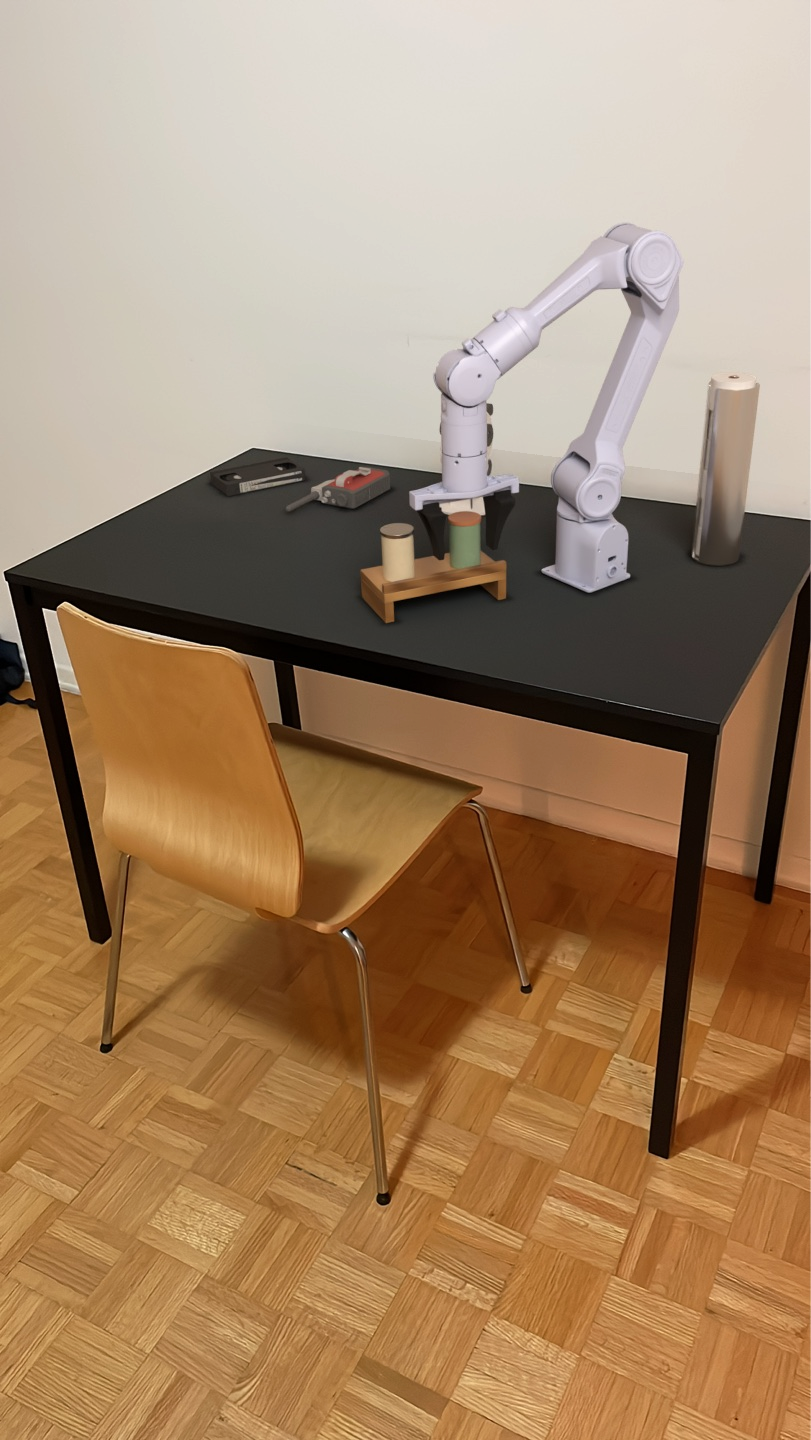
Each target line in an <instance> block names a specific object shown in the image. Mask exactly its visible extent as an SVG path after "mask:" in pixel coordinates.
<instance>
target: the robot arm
mask: <svg viewBox="0 0 811 1440" xmlns="http://www.w3.org/2000/svg"><path fill="white" fill-rule="evenodd" d="M684 263H685V261H684V259H683V257H682V254H681V252H680V250H679V248H678V246H677V244H676V241H675V240H674V238H673V237H672V236H671V235H669V234H668V233H667V232H664V231H661V230H651V229H648V228H644V227H640V226H637V225H636V224H634V223H631V222H620V223H617V224H614V225H612V226H611V227H610V228H609V229H607V231H606V232H605V233H604V234H603V236H602V235H600V236H599V237H597V238H596V239H593V241H591V242H590V243H589V245H588V246H587V247H586V249H585V250H584V251H583V253H582V254H580V256H578V258H576V259H575V260H574V261H573V262H572V263H571V264H570V265H568V267H566V269H564V270H563V272H561V273H560V274H559V275H558V276H556V278H555V279H554V280H553V281H552V282H550V284H549V285H547V286H546V287H545V288H544V289H543V290H542V291H541V292H540V293H539V294H537V296H536V297H534V298H533V299H532V300H531V301H530V302H529V303H528V304H527V305H526V306H525V307H514V306H510V307H508V308H506V309H505V310H502V309H501V308H500V309H498V310H497V311H495V312H494V313H493V314H492V315H491V316H492V319H493V321H491V322H490V323H489V324H488V325H486V326H485V327H484V328H483V329H481V330H480V331H479V332H477V334H476V335H474V336H473V337H472V338H471V339H470V338H468V337H467V338H466V339H464V340H462V342H461V346H462V348H457V349H452V350H450V351H448V352H446V353H445V354H443V355H442V356H441V358H440V359H439V361H438V362H437V363H438V366H436V368H435V372H433V373H432V379H433V382H434V384H435V386H436V388H437V389H438V391H439V392H440V393H441V394H440V423H441V434H440V448H441V450H442V463H441V481H440V482H437V483H434V484H431V485H428V486H426V487H422V488H419V489H415V490H414V489H413V490H410V491H409V492H408V495H409V497H408V498H409V506H410V507H411V509H413V510H414V511H416V513H417V514H418V516H419V518H420V520H421V522H422V524H423V526H424V528H425V531H426V533H427V537H428V539H429V542H430V547H431V550H432V556H434V557H436V558H437V559H438V560H444V556H445V554H446V552H445V551H446V550H445V548H446V547H445V529H446V522H447V519H448V514H445V513H443V512H442V508H441V507H439V504H444V503H450V502H456V501H461V500H467V499H473V498H478V497H483V501H484V508H485V515H484V517H485V544H486V546H487V547H488V548H489V549H490V550H492V551H496V550H498V548H499V544H500V540H501V537H502V536H501V535H502V532H503V530H504V528H505V527H504V526H505V524H506V521H507V520H508V517H509V516H510V514H511V513H512V511H513V509H514V508H515V506H516V497H514V495H512V494H518V493H520V478H519V477H518V476H517V475H515V474H513V473H510V474H500V475H489V476H487V413H486V403H487V400H489V399H490V397H491V395H492V394H493V392H494V388H495V384H496V382H497V381H498V380H500V378H502V377H503V376H504V375H505V374H507V373H508V372H509V371H510V370H512V369H513V368H514V367H515V366H516V365H517V364H519V363H520V362H521V361H522V360H524V358H526V357H527V356H528V355H530V354H531V353H532V352H533V351H534V350H536V349H537V348H538V347H539V346H540V340H541V336H542V332H543V330H545V329H546V328H547V327H548V326H550V325H551V324H552V323H554V322H555V321H557V320H558V319H559V318H561V317H562V316H563V315H564V314H566V313H567V312H569V311H570V310H571V309H573V308H574V307H575V306H577V305H578V304H580V303H581V302H583V300H585V299H586V298H587V297H589V296H590V295H591V294H593V293H594V292H596V291H598V290H619V289H620V291H621V293H622V295H623V297H624V300H625V302H626V304H627V306H628V308H629V311H630V315H629V318H628V319H627V322H626V326H625V328H624V330H623V333H622V335H621V338H620V340H619V343H618V345H617V348H616V350H615V353H614V356H613V358H612V360H611V362H610V365H609V368H608V370H607V373H606V376H605V377H604V380H603V382H602V385H601V388H600V390H599V393H598V395H597V397H596V400H595V403H594V406H593V407H592V410H591V413H590V415H589V418H588V420H587V423H586V425H585V428H584V431H583V432H582V434H580V435H578V436H577V437H576V438H575V439H573V440H572V441H571V442H570V443H569V445H568V448H567V449H566V452H565V454H564V455H563V456H562V457H561V458H560V459H559V460H558V461H557V462H556V463H555V465H554V467H553V469H552V471H551V474H550V485H551V488H552V490H553V492H554V493H555V494H556V495H557V497H558V504H557V506H556V527H555V529H556V531H555V561H554V562H555V563H554V564H552V565H549V566H546V567H543V568H542V569H541V573H542V574H544V575H546V576H548V577H550V578H553V579H556V580H557V581H560V582H562V583H565V584H567V585H569V586H572V587H574V588H576V589H578V590H581V591H583V592H585V593H588V594H590V593H594V592H596V591H599V590H601V589H604V588H607V587H609V586H612V585H615V584H617V583H621V582H622V581H625V580H627V579H628V580H629V579H630V578H631V573H629V572H627V567H628V551H629V531H628V530H627V528H626V526H625V525H623V524H622V523H620V522H619V521H618V520H617V519H616V518H615V517H614V515H613V512H614V511H615V510H616V509H617V507H618V506H619V505H620V501H621V499H622V498H621V497H622V481H623V477H624V475H625V473H626V464H625V457H624V451H623V449H624V446H625V443H626V441H627V439H628V436H629V433H630V431H631V428H632V426H633V424H634V422H635V420H636V416H637V414H638V412H639V410H640V407H641V405H642V402H643V400H644V397H645V395H646V392H647V390H648V388H649V386H650V383H651V381H652V378H653V376H654V373H655V371H656V368H657V367H658V364H659V361H660V359H661V358H662V357H661V356H662V354H663V352H664V349H665V346H666V344H667V342H668V339H669V337H670V335H671V332H672V330H673V328H674V325H675V323H676V321H677V318H678V315H679V311H680V273H681V270H682V268H683V265H684Z"/></svg>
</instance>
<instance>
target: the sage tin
mask: <svg viewBox="0 0 811 1440" xmlns="http://www.w3.org/2000/svg"><path fill="white" fill-rule="evenodd" d="M447 522H448V551H449V552H448V553H449V557H450V566H451V567H453V568H456V569H460V568H465V567H471V566H476V565H480V564H481V551H482V545H481V543H482V542H481V541H482V540H481V538H482V534H481V533H482V532H481V530H482V529H481V528H482V527H481V526H482V525H481V523H482V515H480V514H478V513H476V512H471V511H461V512H455V513H452V514H450V515H447Z"/></svg>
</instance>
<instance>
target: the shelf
mask: <svg viewBox="0 0 811 1440" xmlns="http://www.w3.org/2000/svg"><path fill="white" fill-rule="evenodd" d="M414 566H415V577H414V578H409V579H404V580H398V581H393V582H389V581H386V580H385V579H384V578H383V564H382V565H377V566H373V567H367V568H361V569H359V571H360V587H361V588H360V589H361V590H360V591H361V598H362V600H364V601H365V602H366V604H367V605H368V606H369V607H370V608H371V609H372V610H373V611H374V612H375V613H376V614H377V615H378V616H379V618H380V619H381V620H382V621H383V623H385V624H389V623H395V606H394V605H395V604H394V603H395V602H398V601H402V600H407V599H413V598H417V597H422V596H428V595H433V594H438V593H442V592H447V591H453V590H457V589H462V588H467V587H474V586H478V585H480V586H481V587H482V588H483V589H484V590H485V591H486V592H488V594H490V595H491V596H492V597H494V598H495V599H496V600H497V601H501V600H505V599H507V561H506V560H505V559H502V560H497V561H495V560H493V558H491V557H490V556H488V555H487V554H486V553H485V552H483V551H482V550H481V564H480V565H476V566H471V567H465V568H460V569H456V568H453V567H451V566H450V557H449V552H445V556H444V560H438V559H437V558H436V557H434V556H433V555H431V556H424V557H420V558H414Z"/></svg>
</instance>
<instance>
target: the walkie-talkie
mask: <svg viewBox="0 0 811 1440" xmlns="http://www.w3.org/2000/svg"><path fill="white" fill-rule="evenodd" d="M390 490H391V474H390V472H389V471H388V470H386V469H382V468H376V467H371V466H359V467H358V469H356V470H353V469H348V470H346V471H344V472H342V473H341V474H339V475H337V476H336V477H335V478H334V479H329V480H328V479H327V480H325V481H323V482H321V483H320V484H317V485H315V486H312V487H311V488H310V492H309V494H307V495H305V496H304V497H301V498H300V499H298V500H296V501H294V502H292V503H289V504H288V505H286V506H285V511H286V512H287V513H290V512H292V511H294V510H296V509H298V508H300V507H303V506H304V505H306V504H308V503H310V502H312V501H321V503H322V504H325V505H328V506H334V507H340V508H345V509H350V510H353V509H357V508H358V507H360V506H362V505H363V504H365V503H367V502H369V501H371V500H373V499H375V498H377V497H378V496H380V495H382V494H384V493H385V492H387V491H390Z"/></svg>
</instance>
